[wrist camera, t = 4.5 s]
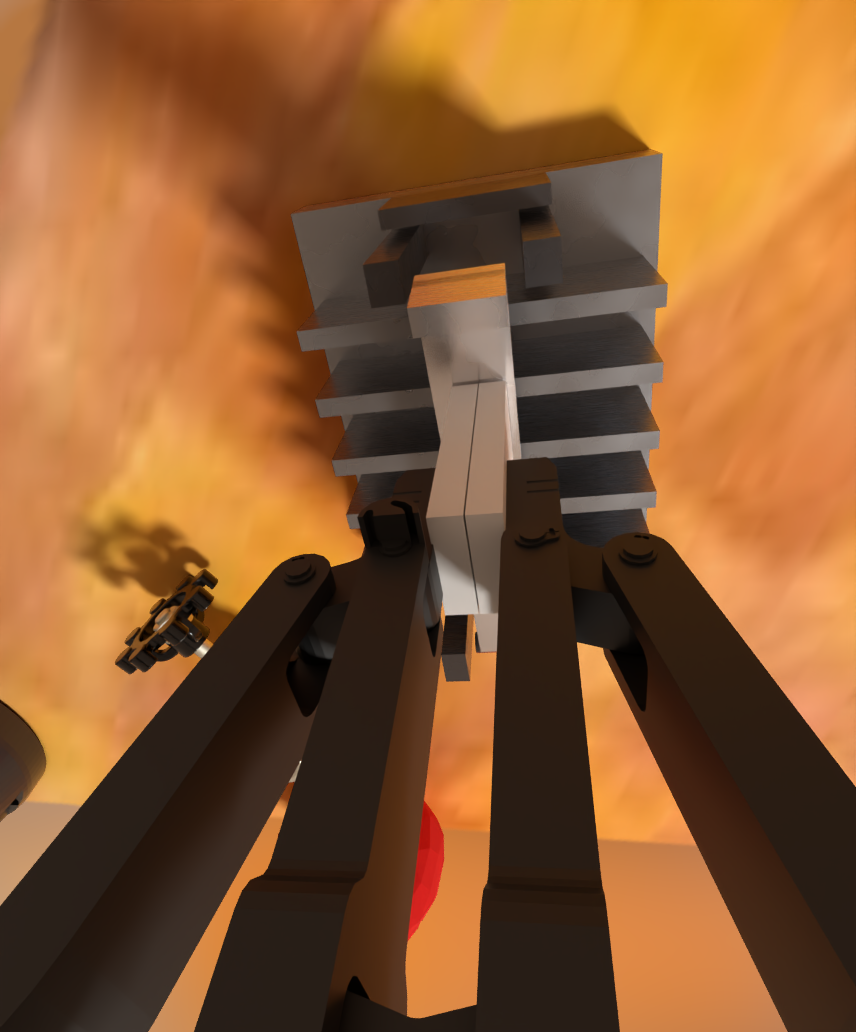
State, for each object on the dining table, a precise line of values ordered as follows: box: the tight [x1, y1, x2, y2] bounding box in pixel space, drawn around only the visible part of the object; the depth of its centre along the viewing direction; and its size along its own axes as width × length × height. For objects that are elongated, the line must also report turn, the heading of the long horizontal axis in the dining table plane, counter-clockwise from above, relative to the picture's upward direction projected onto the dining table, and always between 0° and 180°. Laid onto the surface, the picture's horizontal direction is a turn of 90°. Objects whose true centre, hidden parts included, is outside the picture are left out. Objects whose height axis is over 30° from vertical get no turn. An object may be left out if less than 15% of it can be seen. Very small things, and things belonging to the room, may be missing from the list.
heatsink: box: [291, 149, 668, 682], centre depth 25 cm, size 18×13×8 cm
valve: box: [115, 569, 301, 782], centre depth 36 cm, size 7×7×12 cm
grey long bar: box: [407, 263, 522, 653], centre depth 21 cm, size 16×3×2 cm, turn 9°
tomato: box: [278, 801, 444, 940], centre depth 42 cm, size 12×12×10 cm
